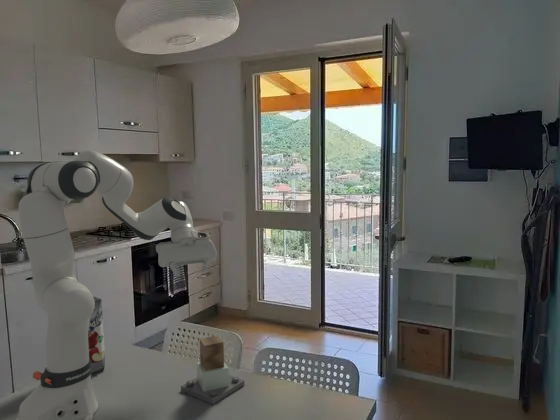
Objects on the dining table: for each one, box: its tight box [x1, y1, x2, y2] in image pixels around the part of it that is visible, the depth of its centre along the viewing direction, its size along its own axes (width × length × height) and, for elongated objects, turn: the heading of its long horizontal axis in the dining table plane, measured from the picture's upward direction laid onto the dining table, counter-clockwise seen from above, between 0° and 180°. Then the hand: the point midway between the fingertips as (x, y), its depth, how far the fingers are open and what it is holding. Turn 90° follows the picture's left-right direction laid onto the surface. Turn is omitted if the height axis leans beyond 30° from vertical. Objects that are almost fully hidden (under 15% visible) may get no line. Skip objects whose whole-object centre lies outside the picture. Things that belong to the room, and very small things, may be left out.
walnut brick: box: [199, 335, 225, 371], centre depth 138 cm, size 6×6×8 cm
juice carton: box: [88, 295, 106, 376], centre depth 149 cm, size 9×10×27 cm
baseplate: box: [180, 361, 245, 405], centre depth 139 cm, size 14×14×8 cm
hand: (191, 273), depth 150 cm, fingers open, 8 cm apart
